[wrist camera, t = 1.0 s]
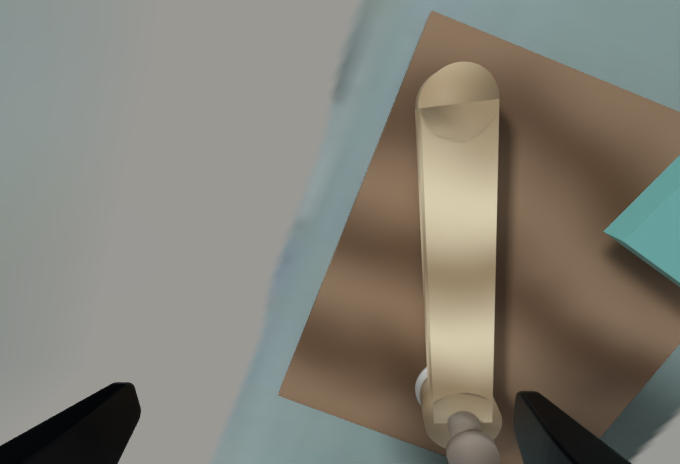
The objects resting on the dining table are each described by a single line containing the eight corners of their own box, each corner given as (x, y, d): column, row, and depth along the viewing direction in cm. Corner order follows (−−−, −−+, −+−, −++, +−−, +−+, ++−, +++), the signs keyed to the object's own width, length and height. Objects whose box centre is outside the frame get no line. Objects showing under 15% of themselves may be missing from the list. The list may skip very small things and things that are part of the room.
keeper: (485, 445, 22) (511, 519, 18) (396, 391, 21) (402, 455, 17) (736, 225, 17) (854, 260, 13) (629, 142, 16) (716, 150, 12)
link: (489, 420, 21) (516, 490, 17) (420, 422, 21) (432, 490, 17) (496, 62, 15) (539, 43, 11) (401, 74, 15) (411, 60, 12)
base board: (545, 479, 24) (552, 494, 23) (281, 383, 23) (278, 395, 22) (799, 168, 17) (824, 171, 16) (428, 16, 16) (431, 10, 15)
